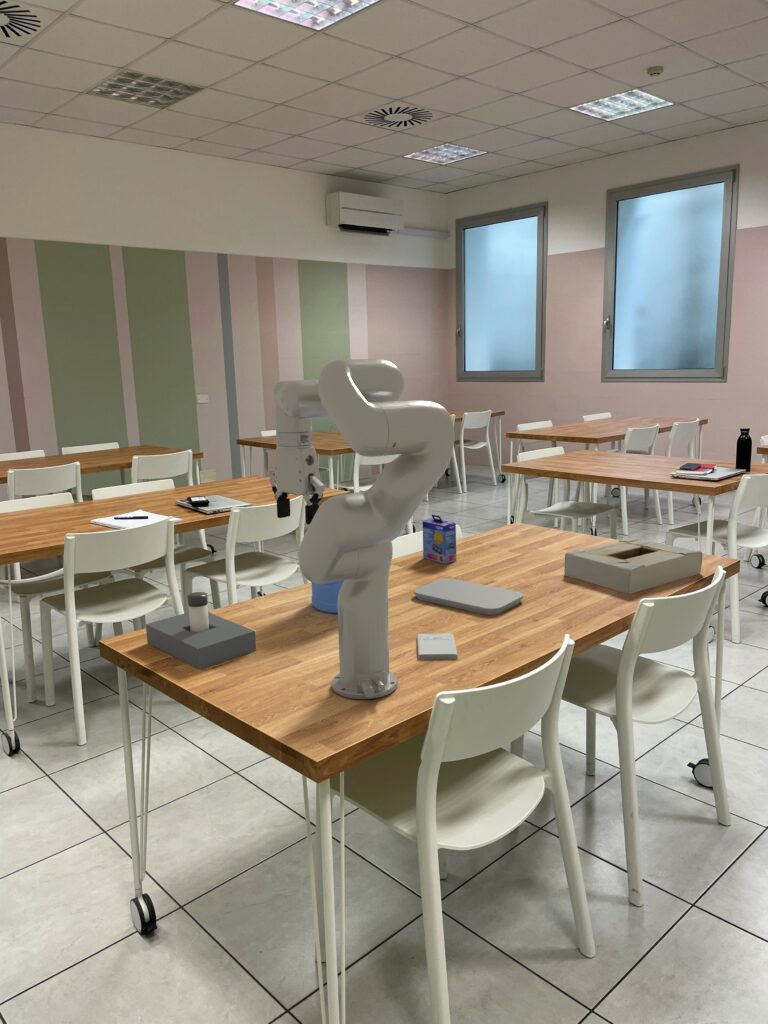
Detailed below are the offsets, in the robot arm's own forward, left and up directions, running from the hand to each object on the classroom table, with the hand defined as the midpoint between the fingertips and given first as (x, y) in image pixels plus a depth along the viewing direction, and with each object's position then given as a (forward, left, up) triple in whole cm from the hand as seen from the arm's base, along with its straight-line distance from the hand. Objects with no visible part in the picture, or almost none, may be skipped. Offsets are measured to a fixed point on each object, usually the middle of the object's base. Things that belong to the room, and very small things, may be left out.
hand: (297, 520), depth 162 cm
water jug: (+25, -14, -28) cm, 40 cm away
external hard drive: (-10, -27, -29) cm, 41 cm away
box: (+26, -99, -29) cm, 106 cm away
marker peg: (+6, +22, -28) cm, 36 cm away
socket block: (+6, +22, -28) cm, 36 cm away
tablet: (+19, -46, -29) cm, 58 cm away
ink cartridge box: (+59, -52, -28) cm, 84 cm away
